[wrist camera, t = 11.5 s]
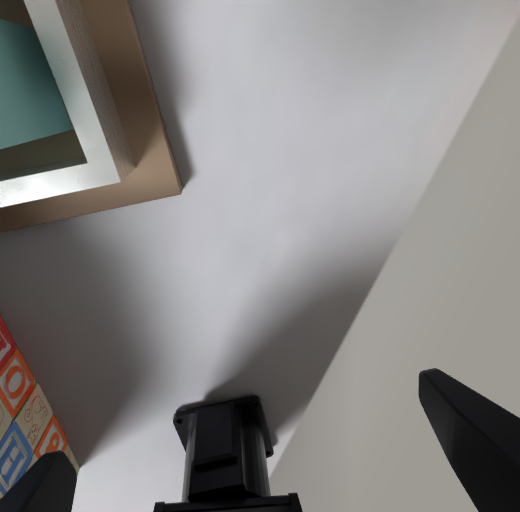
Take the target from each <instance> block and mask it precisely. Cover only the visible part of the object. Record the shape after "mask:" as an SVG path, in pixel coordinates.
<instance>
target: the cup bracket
mask: <svg viewBox="0 0 520 512" xmlns="http://www.w3.org/2000/svg"><path fill="white" fill-rule="evenodd" d="M24 2H25V5H26V7H27V10H28V12H29V15H30V18H31V20H32V23H33V25H34V28H35V30H36V33H37V35H38V38H39V40H40V43H41V45H42V48H43V50H44V53H45V55H46V58H47V61H48V63H49V66H50V68H51V71H52V73H53V76H54V78H55V81H56V83H57V86H58V88H59V91H60V93H61V96H62V98H63V101H64V103H65V106H66V109H67V111H68V114H69V116H70V119H71V121H72V124H73V126H74V129H75V131H76V134H77V136H78V139H79V141H80V144H81V146H82V149H83V152H84V154H85V157H80V158H75V159H70V160H66V161H61V162H56V163H51V164H46V165H42V166H37V167H32V168H27V169H22V170H18V171H13V172H8V173H3V174H0V207H5V206H9V205H14V204H19V203H24V202H28V201H33V200H38V199H43V198H48V197H52V196H57V195H62V194H67V193H71V192H76V191H81V190H86V189H90V188H95V187H100V186H105V185H110V184H114V183H119V182H122V181H123V180H124V179H125V178H126V177H127V176H128V175H129V174H130V173H131V172H132V171H133V170H134V169H136V165H135V162H134V159H133V156H132V153H131V150H130V148H129V145H128V142H127V139H126V136H125V133H124V130H123V127H122V124H121V121H120V118H119V115H118V112H117V109H116V106H115V103H114V100H113V97H112V94H111V91H110V88H109V85H108V82H107V79H106V77H105V74H104V71H103V68H102V65H101V62H100V59H99V56H98V53H97V50H96V47H95V44H94V41H93V38H92V35H91V32H90V29H89V26H88V23H87V20H86V17H85V14H84V11H83V8H82V5H81V3H80V0H24Z"/></svg>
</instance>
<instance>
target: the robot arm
mask: <svg viewBox="0 0 520 512" xmlns="http://www.w3.org/2000/svg"><path fill="white" fill-rule="evenodd" d="M419 399H420V402H421V405H422V407H423V408H424V411H425V413H426V415H427V417H428V419H429V421H430V423H431V426H432V428H433V430H434V432H435V434H436V436H437V438H438V440H439V442H440V444H441V446H442V448H443V450H444V453H445V455H446V457H447V459H448V461H449V463H450V465H451V467H452V468H453V470H454V472H455V473H456V475H457V477H458V479H459V480H460V482H461V484H462V485H463V487H464V488H465V490H466V492H467V493H468V495H469V496H470V498H471V500H472V502H473V503H474V505H475V507H476V508H477V510H478V512H520V418H519V417H517V416H515V415H514V414H512V413H510V412H509V411H507V410H506V409H504V408H502V407H501V406H499V405H497V404H496V403H494V402H492V401H491V400H489V399H487V398H486V397H484V396H482V395H480V394H479V393H477V392H476V391H474V390H472V389H471V388H469V387H467V386H466V385H464V384H462V383H461V382H459V381H457V380H456V379H454V378H452V377H451V376H449V375H447V374H446V373H444V372H442V371H441V370H439V369H436V368H433V369H428V370H424V371H421V372H420V374H419ZM254 402H256V403H254ZM173 423H174V426H175V428H176V430H177V433H178V435H179V437H180V440H181V442H182V444H183V447H184V449H185V452H186V460H185V471H184V481H183V492H182V502H179V503H165V502H155V506H154V511H153V512H302V508H301V505H300V502H299V498H298V494H297V493H288V495H280V496H271V494H270V487H269V478H268V470H267V462H266V458H268V457H271V456H272V455H273V454H274V451H273V446H272V442H271V438H270V434H269V430H268V427H267V423H266V419H265V415H264V411H263V407H262V403H261V399H260V398H259V397H258V396H250V397H245V398H240V399H236V400H231V401H227V402H222V403H217V404H213V405H208V406H204V407H199V408H195V409H190V410H185V411H181V412H177V413H175V414H174V417H173ZM76 482H77V472H76V469H75V467H74V466H73V464H72V463H71V461H70V460H69V458H68V457H67V455H66V454H65V452H64V451H62V450H57V451H52V452H48V453H45V454H43V455H42V456H41V457H40V458H39V459H38V460H37V461H36V462H35V463H34V464H33V465H32V466H31V467H30V468H29V469H28V470H27V471H26V472H25V473H24V475H23V476H22V477H21V478H20V479H19V480H18V481H17V482H16V483H15V484H14V485H13V486H12V487H11V488H10V489H9V490H8V491H7V493H6V494H5V495H4V496H3V497H2V498H1V499H0V512H71V510H72V504H73V499H74V493H75V488H76Z"/></svg>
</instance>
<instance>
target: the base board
mask: <svg viewBox="0 0 520 512" xmlns="http://www.w3.org/2000/svg"><path fill="white" fill-rule="evenodd" d="M80 3H81V5H82V8H83V11H84V14H85V17H86V20H87V23H88V26H89V29H90V32H91V35H92V38H93V41H94V44H95V47H96V50H97V53H98V56H99V59H100V62H101V65H102V68H103V71H104V74H105V77H106V79H107V82H108V85H109V88H110V91H111V94H112V97H113V100H114V103H115V106H116V109H117V112H118V115H119V118H120V121H121V124H122V127H123V130H124V133H125V136H126V139H127V142H128V145H129V148H130V150H131V153H132V156H133V159H134V162H135V165H136V169H134V170H133V171H132V172H131V173H130V174H129V175H128V176H127V177H126V178H125V179H124V180H123V181H122V182H119V183H114V184H110V185H105V186H100V187H95V188H90V189H86V190H81V191H76V192H71V193H67V194H62V195H57V196H52V197H48V198H43V199H38V200H33V201H28V202H24V203H19V204H14V205H9V206H5V207H0V232H5V231H9V230H14V229H19V228H24V227H28V226H33V225H38V224H43V223H47V222H52V221H57V220H62V219H66V218H71V217H76V216H81V215H85V214H90V213H95V212H100V211H104V210H109V209H114V208H119V207H123V206H128V205H133V204H138V203H142V202H147V201H152V200H157V199H161V198H166V197H171V196H176V195H180V194H181V193H182V190H183V188H182V185H181V181H180V178H179V174H178V171H177V167H176V164H175V161H174V157H173V154H172V150H171V147H170V143H169V140H168V136H167V133H166V129H165V126H164V122H163V119H162V115H161V112H160V108H159V105H158V102H157V98H156V95H155V91H154V88H153V84H152V81H151V77H150V74H149V70H148V67H147V63H146V60H145V56H144V53H143V49H142V46H141V42H140V39H139V36H138V32H137V29H136V25H135V22H134V18H133V15H132V11H131V8H130V4H129V1H128V0H80ZM0 19H3V20H6V21H9V22H12V23H15V24H18V25H22V26H25V27H28V28H31V29H34V30H35V28H34V25H33V23H32V20H31V18H30V15H29V12H28V10H27V7H26V5H25V2H24V0H0ZM35 33H36V30H35ZM36 35H37V33H36ZM37 38H38V35H37ZM38 40H39V38H38ZM39 43H40V40H39ZM40 45H41V43H40ZM41 48H42V45H41ZM42 50H43V48H42ZM43 53H44V50H43ZM44 56H45V58H46V55H45V53H44ZM46 61H47V58H46ZM47 63H48V61H47ZM48 66H49V63H48ZM49 68H50V66H49ZM50 71H51V68H50ZM51 73H52V71H51ZM52 76H53V73H52ZM53 78H54V76H53ZM54 81H55V78H54ZM55 83H56V81H55ZM56 86H57V83H56ZM57 88H58V86H57ZM58 91H59V88H58ZM59 93H60V91H59ZM60 96H61V93H60ZM61 99H62V101H63V98H62V96H61ZM63 104H64V106H65V103H64V101H63ZM65 109H66V106H65ZM66 111H67V109H66ZM67 114H68V111H67ZM68 116H69V114H68ZM69 119H70V116H69ZM70 121H71V119H70ZM71 124H72V121H71ZM72 126H73V124H72ZM80 157H85V154H84V152H83V149H82V146H81V144H80V141H79V139H78V136H77V134H76V131H75V129H74V126H73V130H69V131H65V132H62V133H58V134H54V135H51V136H47V137H44V138H40V139H36V140H33V141H29V142H25V143H22V144H18V145H14V146H11V147H7V148H3V149H0V174H3V173H8V172H13V171H18V170H22V169H27V168H32V167H37V166H42V165H46V164H51V163H56V162H61V161H66V160H70V159H75V158H80Z"/></svg>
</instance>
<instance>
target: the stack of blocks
mask: <svg viewBox="0 0 520 512" xmlns="http://www.w3.org/2000/svg"><path fill="white" fill-rule="evenodd" d="M57 450H62V451H64V452H65V454H66V455H67V457H68V458H69V460H70V461H71V463H72V464H73V466H74V467H75V469H76V472H77V475H78V472H79V469H80V467H79V465H78V463H77V461H76V459H75V457H74V455H73V453H72V451H71V449H70V447H69V445H68V441H67V439H66V437H65V435H64V433H63V431H62V429H61V427H60V425H59V423H58V421H57V419H56V417H55V415H54V414H53V411H52V409H51V407H50V405H49V403H48V401H47V399H46V397H45V395H44V393H43V391H42V389H41V387H40V385H39V384H38V383H36V382H35V380H34V377H33V375H32V374H31V372H30V370H29V369H28V366H27V364H26V362H25V361H24V359H23V357H22V355H21V353H20V351H19V349H17V348H16V345H15V343H14V341H13V339H12V337H11V335H10V333H9V331H8V329H7V327H6V326H5V324H4V322H3V320H2V318H1V316H0V499H1V498H2V497H3V496H4V495H5V494H6V493H7V491H8V490H9V489H10V488H11V487H12V486H13V485H14V484H15V483H16V482H17V481H18V480H19V479H20V478H21V477H22V476H23V475H24V473H25V472H26V471H27V470H28V469H29V468H30V467H31V466H32V465H33V464H34V463H35V462H36V461H37V460H38V459H39V458H40V457H41V456H42V455H43V454H45V453H48V452H52V451H57Z"/></svg>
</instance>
